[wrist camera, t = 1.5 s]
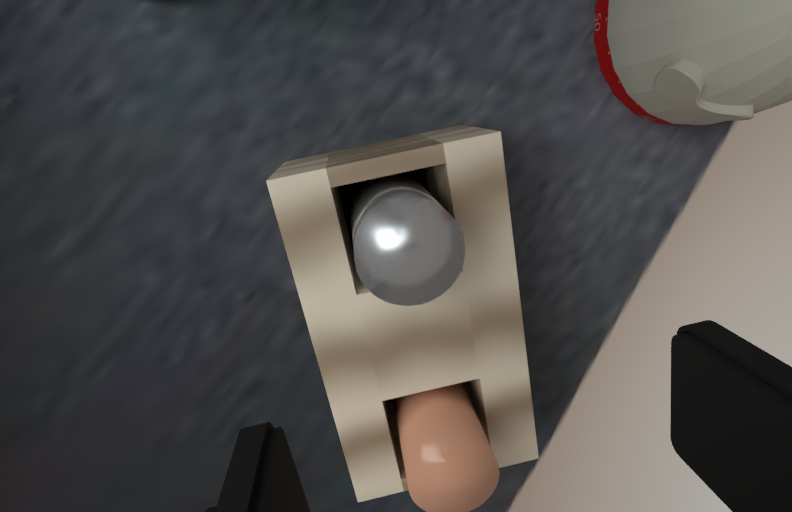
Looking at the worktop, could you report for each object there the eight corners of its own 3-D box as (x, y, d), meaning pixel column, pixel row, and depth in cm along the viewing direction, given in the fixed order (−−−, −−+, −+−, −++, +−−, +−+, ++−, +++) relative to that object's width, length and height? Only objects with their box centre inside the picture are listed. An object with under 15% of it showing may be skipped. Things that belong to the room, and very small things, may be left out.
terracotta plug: (386, 374, 31) (399, 453, 24) (459, 357, 31) (493, 431, 24) (400, 434, 33) (416, 525, 26) (469, 417, 33) (504, 503, 26)
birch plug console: (284, 161, 31) (265, 180, 23) (462, 124, 31) (500, 131, 24) (354, 421, 37) (358, 502, 30) (499, 387, 38) (538, 458, 30)
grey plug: (342, 184, 27) (342, 212, 20) (426, 166, 27) (456, 188, 20) (360, 263, 29) (367, 316, 22) (440, 246, 29) (472, 292, 22)
